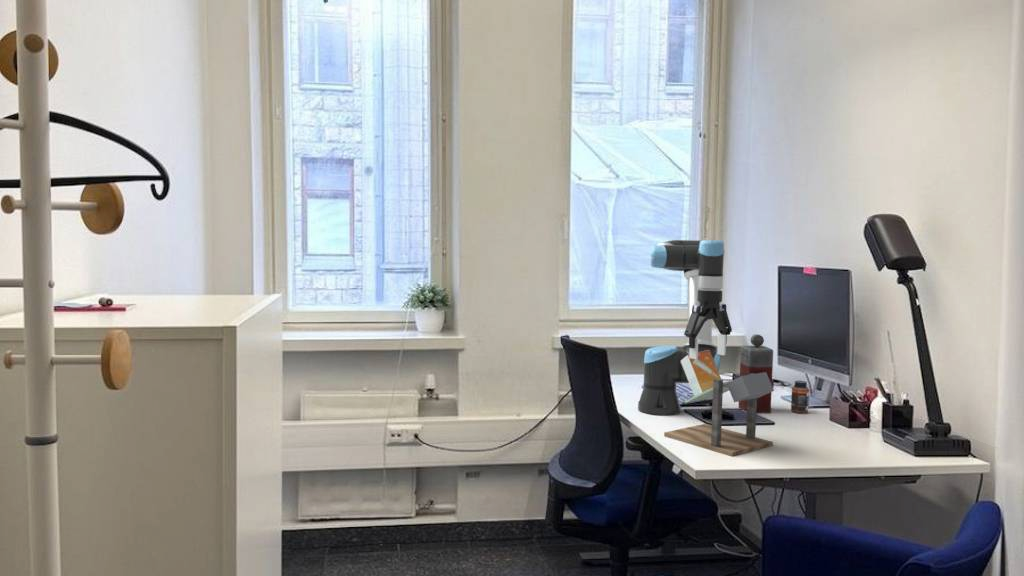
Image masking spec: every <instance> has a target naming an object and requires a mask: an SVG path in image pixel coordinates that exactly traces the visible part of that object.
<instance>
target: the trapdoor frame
mask: <svg viewBox="0 0 1024 576" xmlns="http://www.w3.org/2000/svg"><path fill="white" fill-rule="evenodd" d="M751 374H754V373H751ZM751 374H749V375H751ZM723 382H724V379H721V380H720V379H714V380H713V398H712V406H711V407H712V412H711V414H712V415H711V424H707V423H703V424H699V425H698V424H697V425H693V426H688V427H684V428H678V429H674V430H669V431H665V432H664V433H663V434H664V435H663V437H666V438H668V439H673V440H675V441H679V442H682V443H686V444H689V445H692V446H696V447H699V448H703V449H706V450H709V451H713V452H716V453H719V454H723V455H727V456H728V457H729V456H730V457H734V456H738V455H739V456H740V455H742V454H746V453H749V452H754V451H757V450H758V451H759V450H761V449H765V448H769V447H773V446H774V444H773V443H774V441H773V440H768V439H764V438H760V437H756V433H757V432H756V430H757V413H756V410H757V398H754V399H749V400H747V413H746V425H745V426H746V428H745V429H746V431H745V433H742V432H738V431H735V430H730V429H727V428H723V427H722V422H723V421H722V420H723V398H724V397H723V395H724V393H723Z"/></svg>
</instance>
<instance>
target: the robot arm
mask: <svg viewBox="0 0 1024 576" xmlns="http://www.w3.org/2000/svg"><path fill="white" fill-rule="evenodd" d="M724 256H725V243H724V241H723V240H713V239H712V240H711V239H702V240H695V239H694V240H690V239H688V240H687V239H686V240H684V239H682V240H680V239H672V240H668V241H663V242H660V243H658V244H654V245H652V246H651V249H650V266H651V267H652V268H656V269H657V268H658V269H664V270H668V271H673V272H674V271H675V272H683V277H684V278H685V279H686V280H687V325H686V327H685V330H684V333H683V336H684V337H687V340H686V341H687V342H685V344H684V345H683V346H682V350H679V349H678V347H677V346H675V345H660V346H654V347H650V348H647V349H646V350H645V352H644V359H643V363H644V364H643V365H644V366H643V387H642V388H643V389H642V392H641V395H640V398H639V401H638V403H637V409H638V411H640V412H641V413H645V414H649V415H657V416H669V415H670V416H671V415H677V414H680V413H681V403H680V402H679V401H680V400H679V396H678V392H677V384H689V381H688V379H687V376H686V374H685V371H684V369H683V366H682V364H681V360H682V359H683V358H685V357H686V356H687V355H689V358H692V359H698V352H701V351H705V350H710V353H711V355H712V357H713V360H714V362H715V365H716V367H717V370H718V372H719V371H720V367H721V366H720V363H721V356H726V352H727V350H726V349H727V342H728V341H727V340H728V336H730V335H731V333H732V332H733V329H732V325H731V323H730V322H731V321H730V319H729V315H728V312H727V304H725V303H721V302H723V291H722V289H723V288H724V286H723V285H724V273H723V272H724ZM712 321H713V322H712ZM712 323H714V325H715V327H716V329H717V331H718V332H719V333H718V334H717V346H716V345H715V344H714V343H713V342H712V341H713V339H712V338H713V337H712V336H713V334H712V331H713V329H712V328H713V327H712ZM719 373H720V372H719Z"/></svg>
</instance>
